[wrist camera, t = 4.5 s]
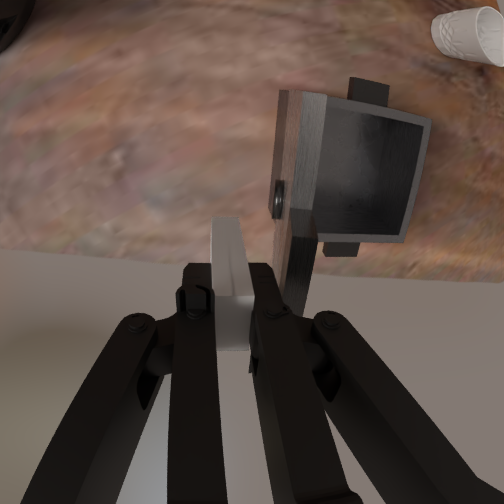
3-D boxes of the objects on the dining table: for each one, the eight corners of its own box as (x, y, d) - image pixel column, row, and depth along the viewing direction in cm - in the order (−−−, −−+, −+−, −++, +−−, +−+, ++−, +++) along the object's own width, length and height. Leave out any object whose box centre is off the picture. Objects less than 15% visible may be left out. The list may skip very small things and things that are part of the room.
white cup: (435, 64, 32) (485, 69, 23) (419, 12, 28) (468, 5, 19) (470, 58, 31) (518, 64, 23) (457, 10, 27) (504, 7, 19)
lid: (300, 90, 25) (282, 88, 25) (340, 97, 9) (291, 90, 9) (282, 241, 33) (267, 240, 33) (282, 397, 17) (254, 395, 17)
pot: (281, 70, 32) (302, 67, 24) (393, 91, 34) (435, 98, 26) (266, 224, 42) (280, 261, 34) (368, 227, 44) (397, 260, 36)
